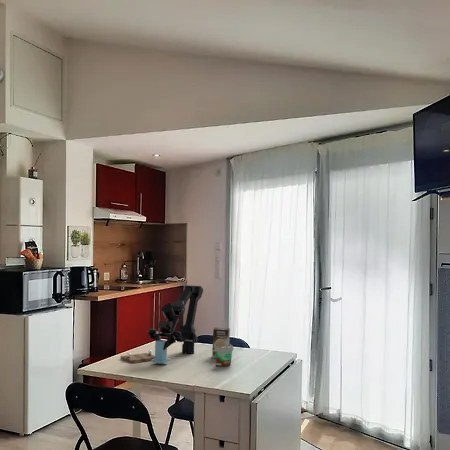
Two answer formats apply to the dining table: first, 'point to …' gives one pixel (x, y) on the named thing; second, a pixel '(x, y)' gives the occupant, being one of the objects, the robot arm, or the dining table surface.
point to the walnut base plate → (138, 358)
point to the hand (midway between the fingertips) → (159, 348)
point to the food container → (224, 355)
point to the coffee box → (220, 338)
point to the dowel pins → (148, 354)
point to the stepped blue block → (160, 352)
